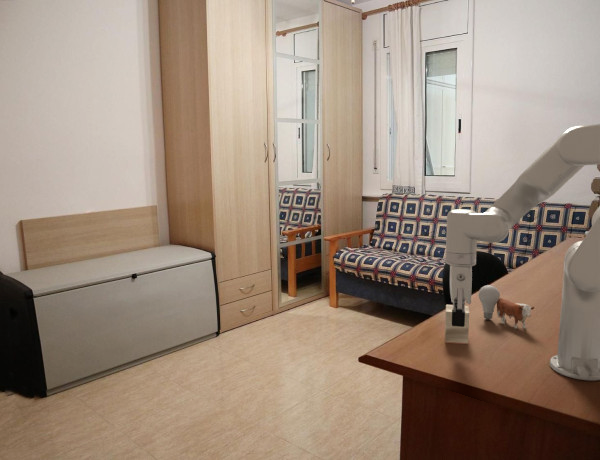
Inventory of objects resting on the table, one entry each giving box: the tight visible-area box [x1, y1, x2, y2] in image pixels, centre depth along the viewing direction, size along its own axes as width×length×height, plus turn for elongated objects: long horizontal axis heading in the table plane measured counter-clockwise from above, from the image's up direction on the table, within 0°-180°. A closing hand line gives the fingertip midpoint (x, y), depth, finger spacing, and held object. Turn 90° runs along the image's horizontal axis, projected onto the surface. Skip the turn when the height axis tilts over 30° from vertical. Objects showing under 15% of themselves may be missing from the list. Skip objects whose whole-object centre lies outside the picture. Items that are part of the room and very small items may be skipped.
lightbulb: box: [478, 284, 501, 321], centre depth 156 cm, size 6×6×11 cm
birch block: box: [444, 304, 470, 345], centre depth 142 cm, size 6×6×9 cm
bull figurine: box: [496, 297, 535, 330], centre depth 151 cm, size 4×13×8 cm, turn 21°
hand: (457, 325), depth 134 cm, fingers closed
